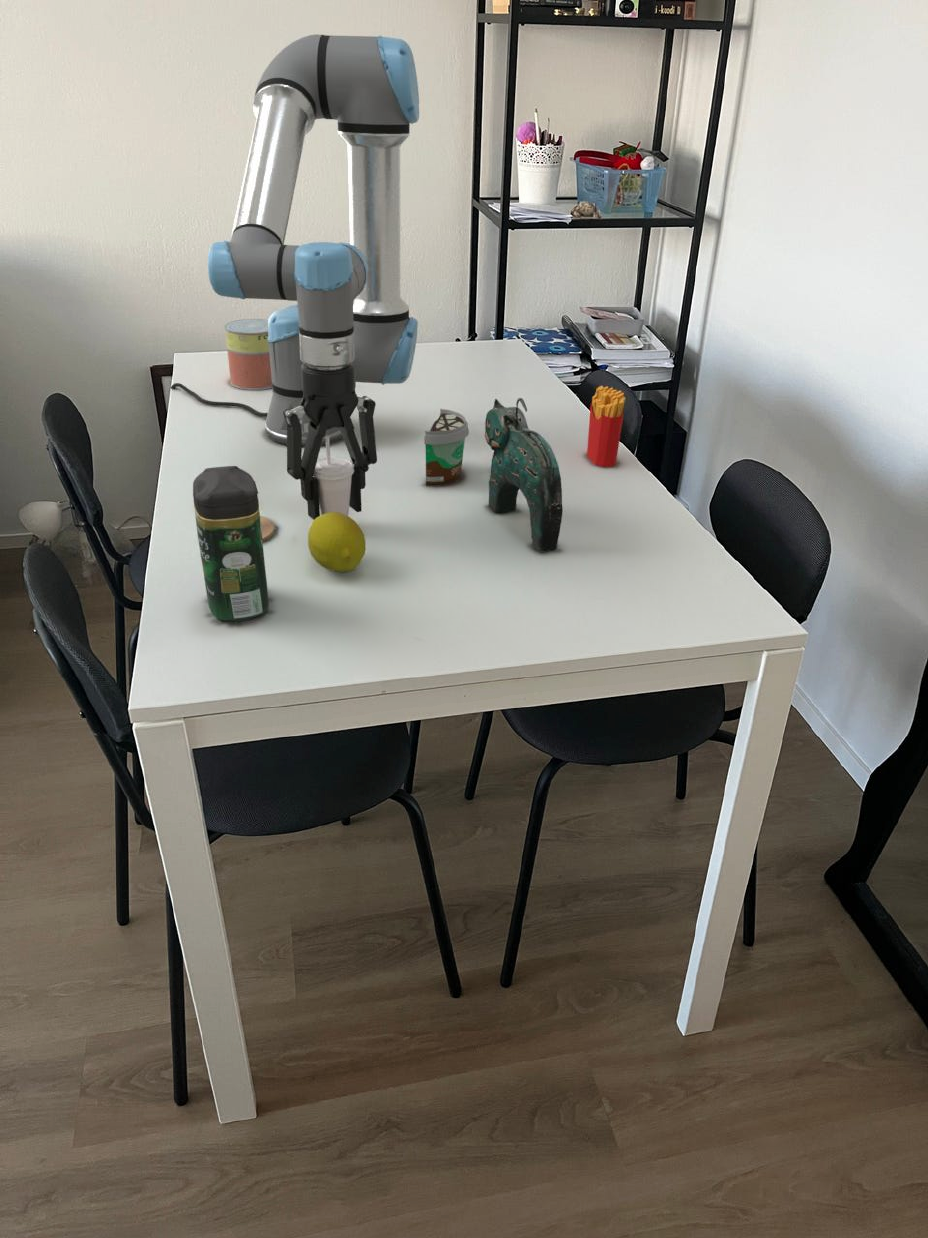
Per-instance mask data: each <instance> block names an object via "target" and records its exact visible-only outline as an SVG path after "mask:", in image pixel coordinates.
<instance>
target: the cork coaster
mask: <svg viewBox="0 0 928 1238" xmlns="http://www.w3.org/2000/svg"><path fill="white" fill-rule="evenodd" d="M260 522H261V532H262V542H263V543H264V542H265V541H267V540H269V539H270V538H271V537H273V535H274V533H275V530H276V529H275V524H274V522H273V521H272V520H271V519H270V518H268V517H265V516H262V515H260Z"/></svg>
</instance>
